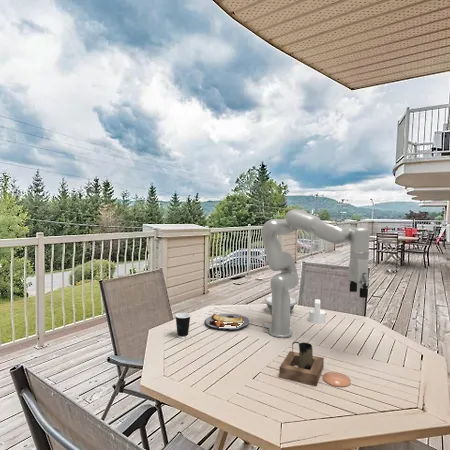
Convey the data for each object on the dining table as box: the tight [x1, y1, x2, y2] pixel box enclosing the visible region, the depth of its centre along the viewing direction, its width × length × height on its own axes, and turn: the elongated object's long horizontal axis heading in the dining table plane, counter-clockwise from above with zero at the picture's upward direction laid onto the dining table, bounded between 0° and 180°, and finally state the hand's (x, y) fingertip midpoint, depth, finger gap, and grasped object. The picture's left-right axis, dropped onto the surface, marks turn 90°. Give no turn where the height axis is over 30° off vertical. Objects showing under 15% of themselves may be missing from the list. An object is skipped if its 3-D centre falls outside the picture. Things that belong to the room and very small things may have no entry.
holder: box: [278, 350, 325, 387], centre depth 127 cm, size 14×16×4 cm
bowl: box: [265, 295, 296, 312], centre depth 203 cm, size 19×19×8 cm
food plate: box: [204, 313, 251, 330], centre depth 181 cm, size 25×23×4 cm
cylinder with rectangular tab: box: [308, 298, 326, 325], centre depth 186 cm, size 9×9×12 cm
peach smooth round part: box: [322, 371, 351, 388], centre depth 121 cm, size 10×10×1 cm
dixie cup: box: [174, 312, 192, 338], centre depth 162 cm, size 8×8×11 cm
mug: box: [291, 341, 314, 370], centre depth 127 cm, size 8×6×12 cm
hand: (358, 294), depth 141 cm, fingers open, 9 cm apart
